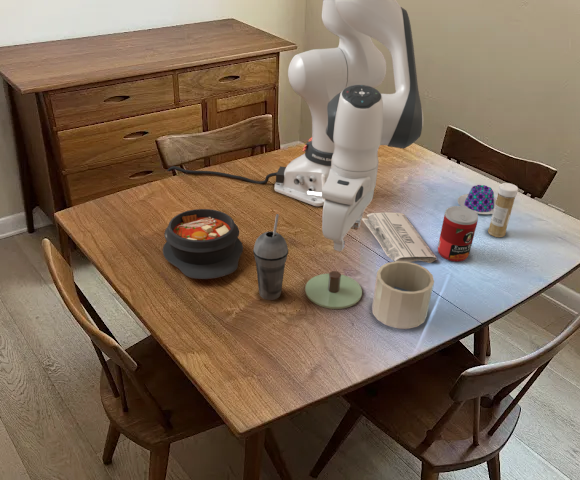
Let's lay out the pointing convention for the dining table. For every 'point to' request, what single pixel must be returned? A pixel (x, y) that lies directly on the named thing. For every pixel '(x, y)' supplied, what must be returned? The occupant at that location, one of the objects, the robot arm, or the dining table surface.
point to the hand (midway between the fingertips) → (347, 238)
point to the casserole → (203, 243)
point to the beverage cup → (270, 262)
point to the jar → (402, 294)
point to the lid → (333, 290)
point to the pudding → (479, 199)
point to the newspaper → (398, 237)
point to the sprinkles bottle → (502, 209)
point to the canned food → (457, 233)
